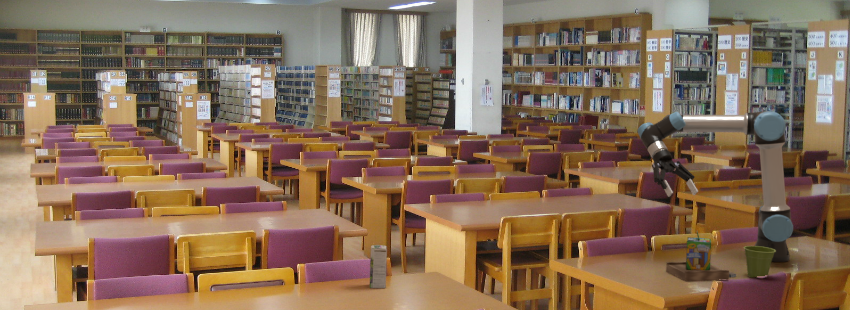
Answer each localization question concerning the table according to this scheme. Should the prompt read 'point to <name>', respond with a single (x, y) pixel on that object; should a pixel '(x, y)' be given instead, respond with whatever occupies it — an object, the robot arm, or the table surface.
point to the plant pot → (758, 260)
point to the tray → (695, 272)
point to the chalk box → (698, 253)
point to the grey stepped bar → (732, 274)
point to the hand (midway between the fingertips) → (683, 194)
